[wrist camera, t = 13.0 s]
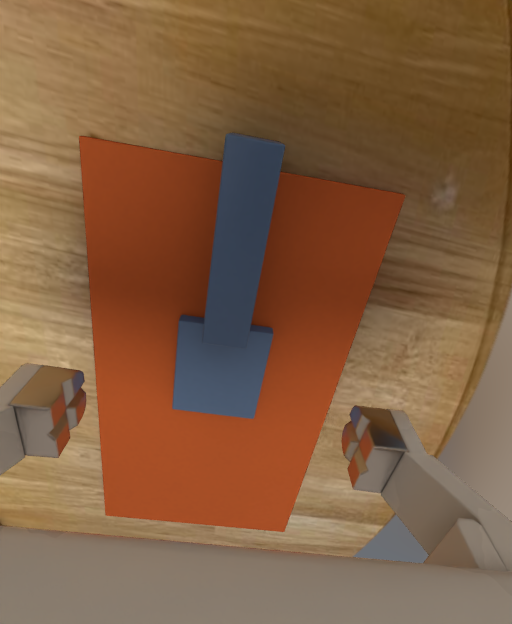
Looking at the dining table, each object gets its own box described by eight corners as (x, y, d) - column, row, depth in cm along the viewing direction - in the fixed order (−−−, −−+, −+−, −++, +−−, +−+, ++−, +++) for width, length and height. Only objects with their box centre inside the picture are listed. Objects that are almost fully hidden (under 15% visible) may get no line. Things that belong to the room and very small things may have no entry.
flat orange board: (82, 135, 16) (78, 135, 16) (403, 193, 18) (406, 195, 17) (107, 511, 30) (105, 515, 30) (283, 527, 32) (284, 532, 31)
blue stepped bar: (195, 125, 16) (184, 124, 13) (314, 148, 16) (324, 152, 14) (174, 401, 24) (164, 433, 21) (254, 411, 24) (253, 443, 22)
